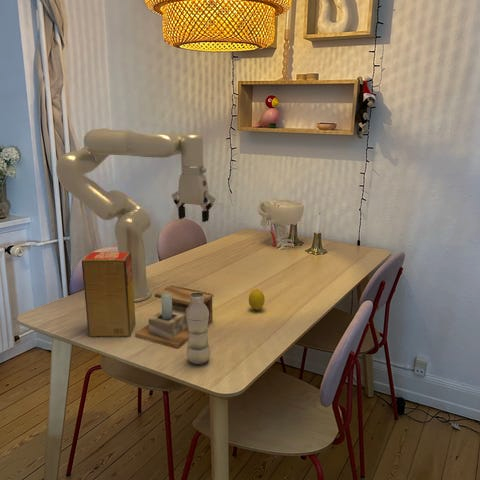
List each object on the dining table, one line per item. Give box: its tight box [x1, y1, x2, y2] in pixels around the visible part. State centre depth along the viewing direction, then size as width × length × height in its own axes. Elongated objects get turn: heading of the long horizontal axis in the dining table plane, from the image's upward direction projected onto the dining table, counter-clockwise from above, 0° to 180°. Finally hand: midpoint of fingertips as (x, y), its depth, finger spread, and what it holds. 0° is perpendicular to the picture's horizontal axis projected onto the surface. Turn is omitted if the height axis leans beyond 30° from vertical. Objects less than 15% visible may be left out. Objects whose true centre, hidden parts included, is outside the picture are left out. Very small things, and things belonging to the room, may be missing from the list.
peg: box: [160, 293, 172, 321], centre depth 142 cm, size 3×3×12 cm
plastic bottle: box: [185, 292, 211, 365], centre depth 126 cm, size 6×7×20 cm
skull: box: [257, 198, 305, 251], centre depth 232 cm, size 25×19×23 cm
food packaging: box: [81, 251, 136, 338], centre depth 143 cm, size 13×9×25 cm
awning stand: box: [134, 284, 214, 349], centre depth 146 cm, size 20×17×10 cm
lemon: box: [248, 288, 266, 311], centre depth 160 cm, size 6×6×8 cm
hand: (193, 219), depth 162 cm, fingers open, 9 cm apart
